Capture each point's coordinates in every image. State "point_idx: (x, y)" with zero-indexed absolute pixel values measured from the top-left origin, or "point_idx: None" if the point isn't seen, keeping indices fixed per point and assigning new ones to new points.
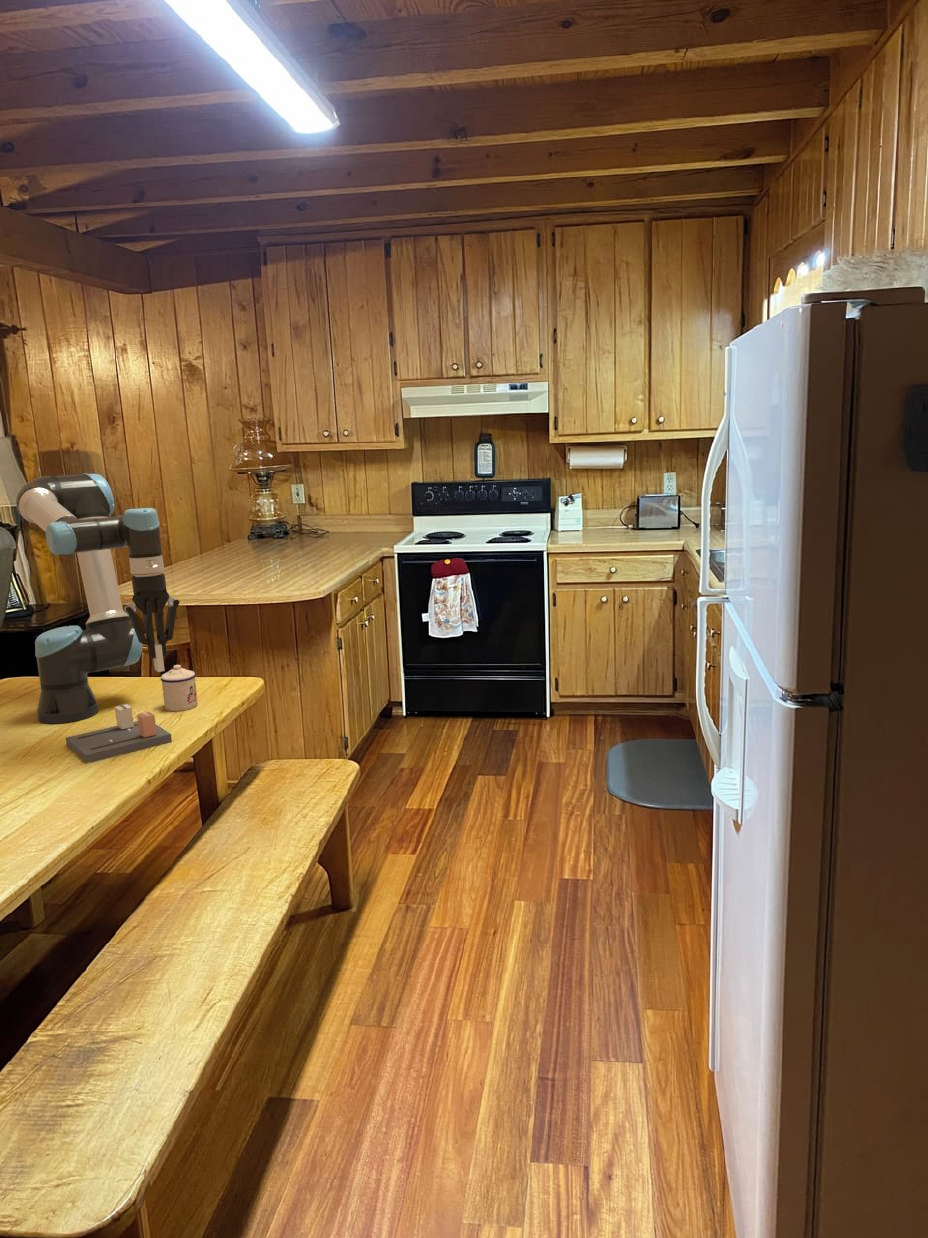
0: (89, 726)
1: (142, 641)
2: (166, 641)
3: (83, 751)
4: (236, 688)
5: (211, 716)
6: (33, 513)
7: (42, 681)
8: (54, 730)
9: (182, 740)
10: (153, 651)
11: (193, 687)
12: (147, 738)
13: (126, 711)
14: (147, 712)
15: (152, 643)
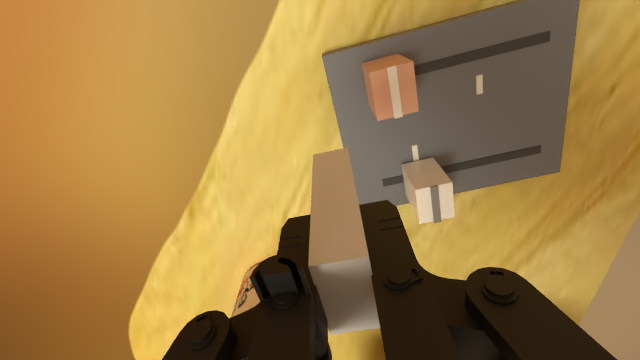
0: (464, 256)
1: (529, 296)
2: (252, 277)
3: (572, 27)
4: (165, 332)
5: (214, 199)
6: None
7: None
8: (528, 265)
9: (294, 51)
10: (379, 234)
11: (237, 306)
12: (388, 51)
13: (428, 182)
14: (384, 113)
15: (400, 273)
